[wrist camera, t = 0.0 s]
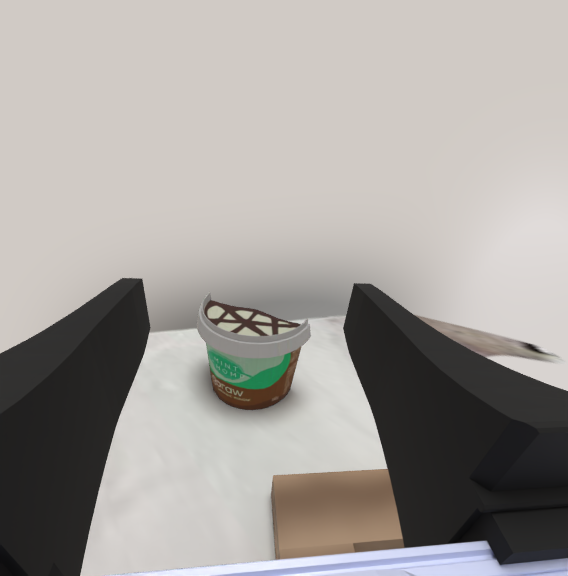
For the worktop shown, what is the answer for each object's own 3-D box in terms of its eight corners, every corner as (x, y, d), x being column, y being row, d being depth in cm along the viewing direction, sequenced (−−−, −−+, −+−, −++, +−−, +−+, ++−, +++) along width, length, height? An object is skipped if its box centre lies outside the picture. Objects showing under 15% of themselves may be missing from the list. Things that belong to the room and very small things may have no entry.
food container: (176, 396, 35) (169, 318, 31) (207, 361, 41) (205, 291, 36) (283, 436, 32) (293, 355, 27) (302, 393, 37) (313, 319, 33)
